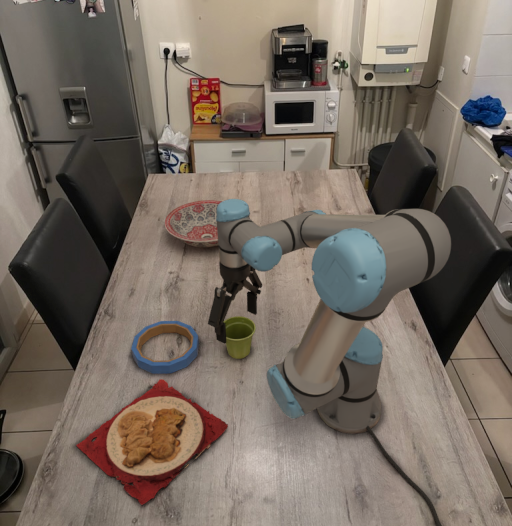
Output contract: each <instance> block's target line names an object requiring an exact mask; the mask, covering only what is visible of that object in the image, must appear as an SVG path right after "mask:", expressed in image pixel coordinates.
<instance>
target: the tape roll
mask: <svg viewBox="0 0 512 526" xmlns="http://www.w3.org/2000/svg"><path fill="white" fill-rule="evenodd" d="M161 334H179V335H180V336H183V337H186V338H187V340H188V341H189V342H190V346H188V348H187V349H186V350H185V351H184V352H183V353H182V354H181V355H179V356H176V357H173V358H171V359H168V360H154V359H151V358H149V357H147V356H145V355H143V353H142V347H143V345H145V344H146V342H147V341H149V340H150V339H151V338H154V337H156V336H158V335H161ZM199 346H200V340H199V335H198V334H197V332H196V330H195V329H194V328H193V327H192V325H189V324H187V323H184V322H183V321H179V320H160V321H157V322H154V323H151V324H149V325H147V326H145V327H144V328H142V329H141V330H140V331H139V332H138V333H137V334H136V335H135V336H133V341H132V344H131V348H130V349H131V355H132V358H133V359H134V362H135V363H136V365H137V367H138V368H139V369H141V370H144V371H146V372H148V373H150V374H153V375H155V374H156V375H158V374H159V375H161V374H173V373H175V372H177V371H181V370H183V369H185V368H187V367H189V366H190V365H191V363H192V362H193V361H194V360H195V359H196V358H197V357H198V355H199Z"/></svg>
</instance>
